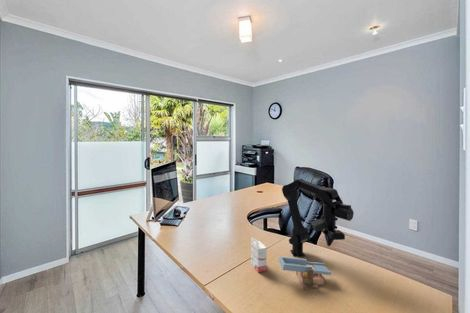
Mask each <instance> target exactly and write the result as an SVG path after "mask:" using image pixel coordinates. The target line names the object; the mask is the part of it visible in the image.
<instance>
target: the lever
mask: <svg viewBox="0 0 470 313" xmlns="http://www.w3.org/2000/svg"><path fill="white" fill-rule="evenodd" d="M278 263H279V264H280V267H281V270H282V271H287V272H296V271H297V272H306V273H307V269H313V273H317V274H322V275H329V276H331V275H332V271H330V270H329V269H328V267H327V266H326V264H325V263H324V262H314V261H308V260H307V258H297V257H289V256H288V257H287V256H279V261H278ZM304 265H305V266H304Z"/></svg>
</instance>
